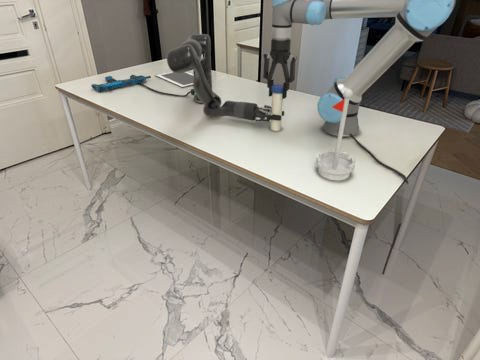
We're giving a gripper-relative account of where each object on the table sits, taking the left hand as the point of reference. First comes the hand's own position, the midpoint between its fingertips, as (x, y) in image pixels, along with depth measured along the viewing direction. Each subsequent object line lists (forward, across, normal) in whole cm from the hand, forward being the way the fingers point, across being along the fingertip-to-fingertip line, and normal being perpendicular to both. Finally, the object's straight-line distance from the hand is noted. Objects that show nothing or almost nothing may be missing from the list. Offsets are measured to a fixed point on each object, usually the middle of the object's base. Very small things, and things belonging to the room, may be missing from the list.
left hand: (282, 115), depth 147 cm
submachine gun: (-109, +31, +6) cm, 114 cm away
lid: (-3, 0, -12) cm, 13 cm away
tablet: (-79, +53, +6) cm, 95 cm away
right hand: (-3, 0, -8) cm, 9 cm away
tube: (-3, 0, +6) cm, 7 cm away
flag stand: (+27, -29, +6) cm, 40 cm away
